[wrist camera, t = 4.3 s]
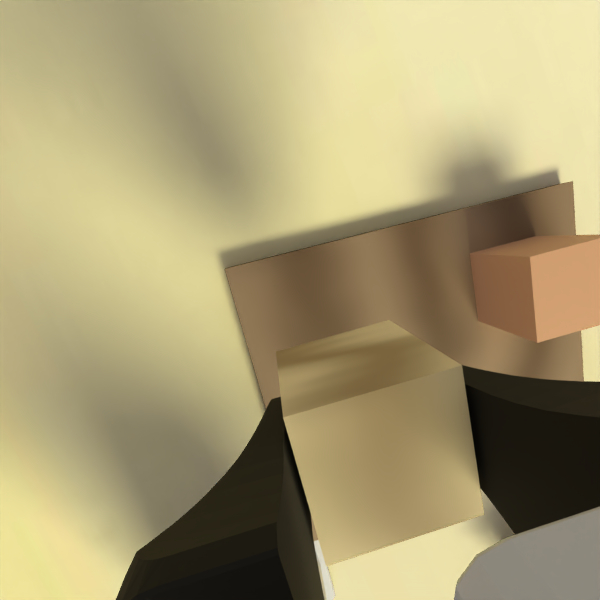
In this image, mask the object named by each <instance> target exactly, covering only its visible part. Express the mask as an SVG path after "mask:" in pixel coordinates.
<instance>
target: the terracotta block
mask: <svg viewBox="0 0 600 600" xmlns="http://www.w3.org/2000/svg"><path fill="white" fill-rule="evenodd" d="M470 260H471V268H472V276H473V284H474V292H475V300H476V308H477V316H478V321H480V322H482V323H485V324H488V325H490V326H493V327H496V328H498V329H501V330H504V331H507V332H509V333H512V334H515V335H517V336H520V337H523V338H525V339H528V340H531V341H533V342H536V343H539V342H542V341H546V340H549V339H553V338H556V337H560V336H563V335H567V334H570V333H574V332H577V331H581V330H584V329H588V328H591V327H594V326H598V325H600V235H561V236H534V237H530V238H526V239H523V240H519V241H515V242H511V243H507V244H504V245H500V246H496V247H492V248H488V249H485V250H481V251H477V252H473V253H470Z"/></svg>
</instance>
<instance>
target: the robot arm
mask: <svg viewBox="0 0 600 600" xmlns="http://www.w3.org/2000/svg"><path fill="white" fill-rule="evenodd" d="M462 369H463V376H464V382H465V389H466V396H467V403H468V409H469V416H470V423H471V429H472V436H473V443H474V450H475V456H476V463H477V470H478V476H479V483H480V488H481V489H482V490H483V492H484V493H485V494H486V495H487V497H488V498H489V499H490V501H491V502H492V503H493V505H494V506H495V507H496V509H497V510H498V511H499V513H500V514H501V515H502V517H503V518H504V519H505V521H506V522H507V523H508V525H509V526H510V528H511V529H512V530H513V532H514V533H515V535H513V536H510V537H507V538H504V539H503V540H501V541H499V542H498V543H496V544H494V545H492V546H491V547H489V548H487V549H486V550H484V551H482V552H480V553H479V554H477V555H476V556H475V557H474V559H473V560H472V562H471V563H470V564H469V566H468V567H467V568H466V570H465V571H464V572H463V574H462V575H461V577H460V578H459V579H458V581H457V585H456V590H455V597H454V600H600V382H585V381H565V380H550V379H538V378H530V377H522V376H514V375H508V374H502V373H497V372H492V371H486V370H482V369H477V368H472V367H468V366H464V365H462ZM334 598H335V591H334V587H333V583H332V580H331V576H330V573H329V569H328V566H326V564H325V561H324V557H323V554H322V550H321V547H320V543H319V540H316V541H314V539H313V531H312V521H311V512H310V509H309V505H308V502H307V498H306V495H305V491H304V488H303V485H302V481H301V478H300V474H299V471H298V467H297V464H296V460H295V457H294V454H293V450H292V447H291V443H290V440H289V436H288V433H287V429H286V426H285V422H284V419H283V412H282V403H281V397H277V398H274V399H271V401H270V402H269V404H268V406H267V409H266V411H265V413H264V415H263V417H262V419H261V421H260V423H259V425H258V427H257V429H256V431H255V432H254V434H253V436H252V438H251V439H250V441H249V443H248V444H247V446H246V447H245V449H244V451H243V452H242V453H241V455H240V456H239V458H238V459H237V460H236V462H235V463H234V464H233V465H232V467H231V468H230V469H229V470H228V472H227V473H226V474H225V475H224V476H223V477H222V478H221V479H220V480H219V481H218V483H217V484H216V485H215V486H214V487H213V488H212V489H211V490H210V491H209V492H208V493H207V494H206V495H205V496H204V497H203V498H202V499H201V500H200V501H199V502H198V503H197V504H196V505H195V506H194V507H193V508H191V509H190V510H189V511H188V512H187V513H186V514H185V515H183V516H182V517H181V518H180V519H179V520H178V521H176V522H175V523H174V524H173V525H172V526H170V527H169V528H168V529H166V530H165V531H164V532H162V533H161V534H160V535H158V536H157V537H156V538H155V539H153V540H152V541H151V542H149V543H148V544H147V545H145V546H144V547H143V548H141V549H140V550H138V551H137V552H136V554H135V556H134V558H133V561H132V563H131V565H130V567H129V569H128V571H127V574H126V576H125V578H124V581H123V583H122V586H121V588H120V591H119V593H118V596H117V598H116V600H333V599H334Z"/></svg>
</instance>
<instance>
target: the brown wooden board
mask: <svg viewBox="0 0 600 600" xmlns="http://www.w3.org/2000/svg"><path fill="white" fill-rule="evenodd" d="M561 235H576V229H575V211H574V193H573V181H572V182H567V183H562V184H558V185H554V186H550V187H546V188H542V189H538V190H534V191H530V192H526V193H522V194H518V195H514V196H510V197H506V198H502V199H498V200H494V201H490V202H486V203H482V204H478V205H474V206H470V207H466V208H463V209H459V210H455V211H451V212H447V213H443V214H439V215H435V216H431V217H427V218H423V219H419V220H415V221H411V222H407V223H403V224H399V225H395V226H391V227H387V228H383V229H379V230H375V231H371V232H367V233H364V234H360V235H356V236H352V237H348V238H344V239H340V240H336V241H332V242H328V243H324V244H320V245H316V246H312V247H308V248H304V249H300V250H296V251H292V252H288V253H284V254H280V255H276V256H272V257H269V258H265V259H261V260H257V261H253V262H249V263H245V264H241V265H237V266H233V267H229V268H226V269H225V271H226V275H227V278H228V282H229V285H230V288H231V292H232V295H233V298H234V302H235V305H236V309H237V312H238V315H239V319H240V322H241V326H242V329H243V332H244V336H245V339H246V343H247V346H248V349H249V353H250V356H251V360H252V363H253V366H254V370H255V373H256V376H257V380H258V383H259V387H260V390H261V393H262V397H263V400H264V404H265V407H266V409H267V406H268V404H269V402H270V401H271V399H274V398H277V397H281V394H280V385H279V376H278V367H277V358H276V351H280V350H283V349H287V348H290V347H294V346H298V345H301V344H305V343H308V342H312V341H316V340H319V339H323V338H326V337H330V336H334V335H337V334H341V333H344V332H348V331H352V330H355V329H359V328H362V327H366V326H370V325H373V324H377V323H380V322H384V321H387V320H390V321H392V322H393V323H395V324H396V325H398V326H400V327H401V328H403V329H404V330H406V331H408V332H409V333H411V334H412V335H414V336H416V337H417V338H419V339H420V340H422V341H424V342H425V343H427V344H429V345H430V346H432V347H433V348H435V349H437V350H438V351H440V352H441V353H443V354H445V355H446V356H448V357H449V358H451V359H453V360H454V361H456V362H457V363H459V364H461V365H464V366H468V367H472V368H477V369H482V370H486V371H492V372H497V373H502V374H508V375H514V376H522V377H530V378H538V379H550V380H565V381H584V377H583V358H582V340H581V331H577V332H574V333H570V334H567V335H563V336H560V337H556V338H553V339H549V340H546V341H542V342H539V343H536V342H533V341H531V340H528V339H525V338H523V337H520V336H517V335H515V334H512V333H509V332H507V331H504V330H501V329H498V328H496V327H493V326H490V325H488V324H485V323H482V322H480V321H478V316H477V308H476V300H475V292H474V284H473V276H472V268H471V260H470V253H473V252H477V251H481V250H485V249H488V248H492V247H496V246H500V245H504V244H507V243H511V242H515V241H519V240H523V239H526V238H530V237H534V236H561ZM480 489H481V488H480ZM311 521H312V531H313V539H314V541H316V540H318V536H317V533H316V529H315V526H314V523H313V519H312V516H311Z"/></svg>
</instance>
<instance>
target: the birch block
mask: <svg viewBox="0 0 600 600" xmlns="http://www.w3.org/2000/svg"><path fill="white" fill-rule="evenodd" d="M276 358H277V367H278V376H279V385H280V394H281V403H282V412H283V419H284V422H285V426H286V429H287V433H288V436H289V440H290V443H291V447H292V450H293V454H294V457H295V460H296V464H297V467H298V471H299V474H300V478H301V481H302V485H303V488H304V491H305V495H306V498H307V502H308V505H309V509H310V512H311V516H312V519H313V523H314V526H315V529H316V533H317V536H318V540H319V543H320V547H321V550H322V554H323V557H324V561H325V564H326V566H329V565H332V564H335V563H338V562H341V561H344V560H347V559H350V558H353V557H356V556H359V555H362V554H365V553H368V552H371V551H375V550H378V549H381V548H384V547H387V546H390V545H393V544H396V543H399V542H402V541H405V540H408V539H411V538H414V537H417V536H420V535H423V534H426V533H429V532H433V531H436V530H439V529H442V528H445V527H448V526H451V525H454V524H457V523H460V522H463V521H466V520H469V519H472V518H475V517H478V516H481V515H484V510H483V503H482V497H481V490H480V483H479V476H478V470H477V463H476V456H475V450H474V443H473V436H472V429H471V423H470V416H469V409H468V403H467V396H466V389H465V382H464V376H463V369H462V365H461V364H459V363H457V362H456V361H454V360H453V359H451V358H449V357H448V356H446V355H445V354H443V353H441V352H440V351H438V350H437V349H435V348H433V347H432V346H430V345H429V344H427V343H425V342H424V341H422V340H420V339H419V338H417V337H416V336H414V335H412V334H411V333H409V332H408V331H406V330H404V329H403V328H401V327H400V326H398V325H396V324H395V323H393V322H392V321H390V320H387V321H384V322H380V323H377V324H373V325H370V326H366V327H362V328H359V329H355V330H352V331H348V332H344V333H341V334H337V335H334V336H330V337H326V338H323V339H319V340H316V341H312V342H308V343H305V344H301V345H298V346H294V347H290V348H287V349H283V350H280V351H276Z"/></svg>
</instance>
